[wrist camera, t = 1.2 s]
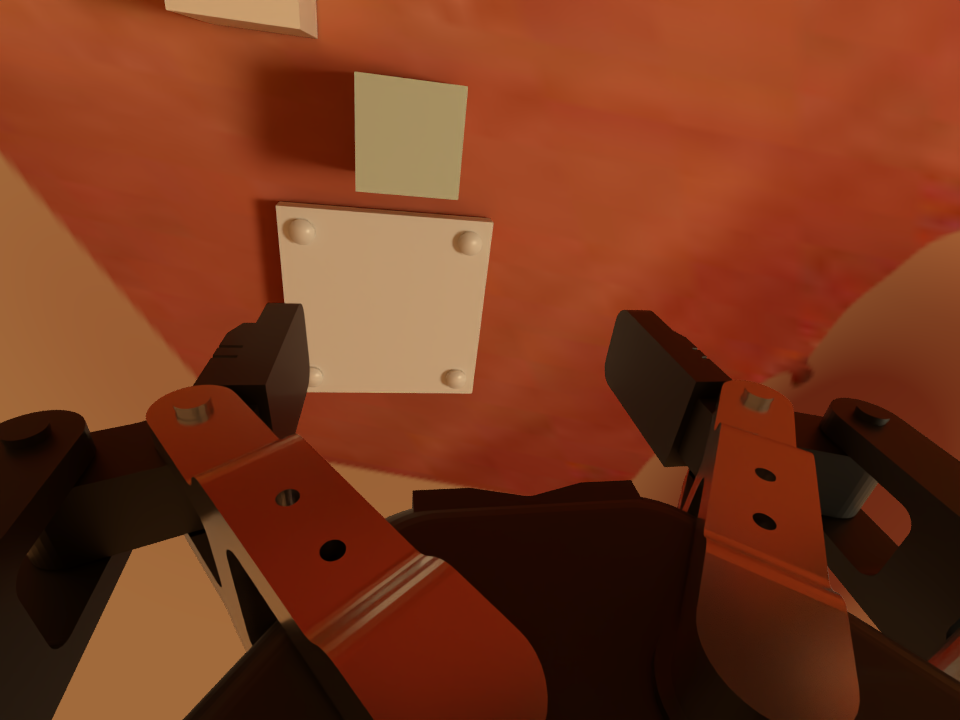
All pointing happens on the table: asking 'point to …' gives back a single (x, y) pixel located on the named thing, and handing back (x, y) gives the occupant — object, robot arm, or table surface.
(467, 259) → the baseplate
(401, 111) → the sage brick
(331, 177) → the table surface
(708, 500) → the robot arm
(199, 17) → the cream brick
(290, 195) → the table surface
